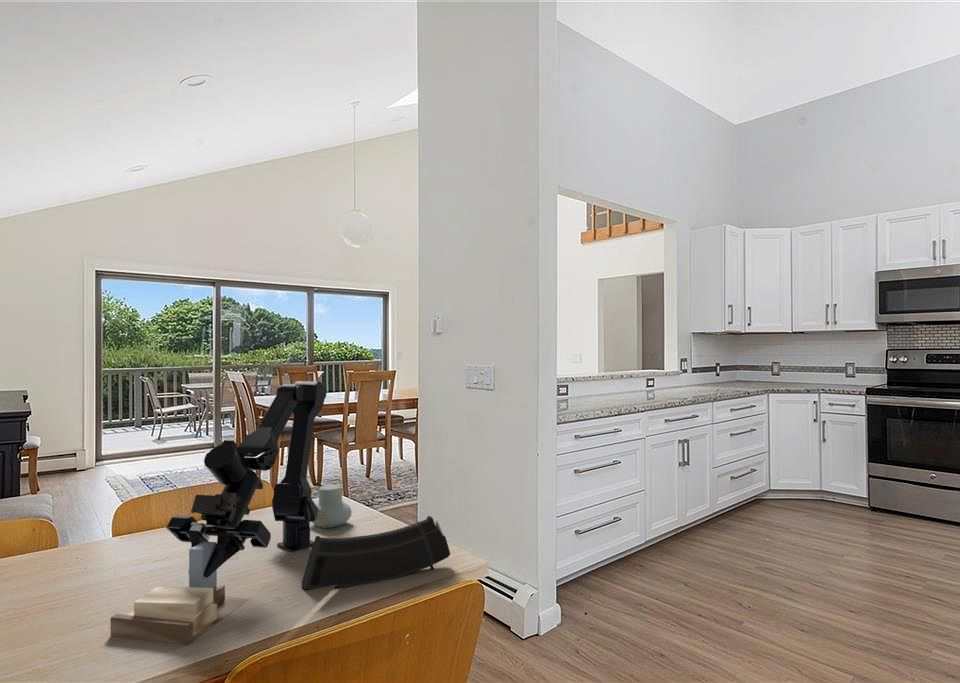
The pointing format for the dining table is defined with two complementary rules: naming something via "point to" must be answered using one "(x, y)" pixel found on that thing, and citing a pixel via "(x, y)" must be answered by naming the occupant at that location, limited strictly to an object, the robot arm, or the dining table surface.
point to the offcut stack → (178, 605)
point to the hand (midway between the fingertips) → (197, 576)
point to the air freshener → (331, 507)
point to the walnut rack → (171, 623)
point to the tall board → (201, 565)
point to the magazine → (374, 556)
